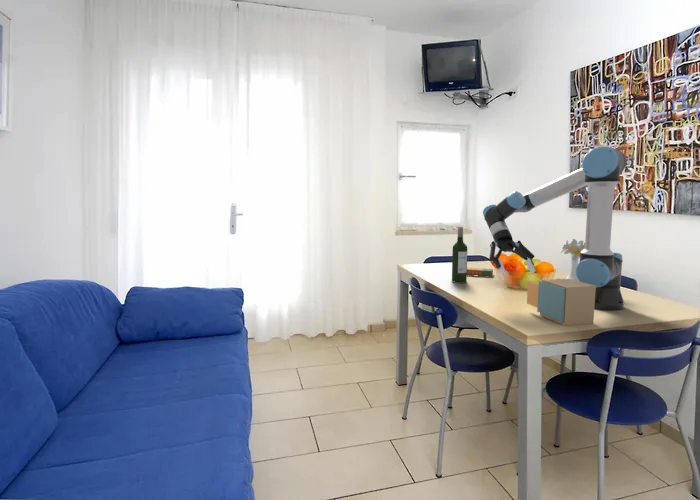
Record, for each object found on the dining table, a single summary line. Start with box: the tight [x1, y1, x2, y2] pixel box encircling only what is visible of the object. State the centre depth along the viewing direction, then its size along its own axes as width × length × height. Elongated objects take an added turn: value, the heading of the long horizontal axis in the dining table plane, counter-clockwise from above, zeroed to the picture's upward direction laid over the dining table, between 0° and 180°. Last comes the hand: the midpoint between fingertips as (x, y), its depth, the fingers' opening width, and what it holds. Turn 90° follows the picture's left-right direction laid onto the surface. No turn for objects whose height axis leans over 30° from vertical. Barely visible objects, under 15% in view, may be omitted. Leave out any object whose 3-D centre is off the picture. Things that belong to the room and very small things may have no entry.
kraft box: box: [539, 278, 596, 326], centre depth 160 cm, size 12×14×14 cm
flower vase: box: [560, 238, 585, 281], centre depth 208 cm, size 13×18×25 cm
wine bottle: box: [451, 226, 468, 283], centre depth 231 cm, size 8×8×30 cm
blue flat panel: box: [526, 280, 565, 322], centre depth 162 cm, size 1×21×12 cm, turn 11°
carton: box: [467, 267, 494, 278], centre depth 251 cm, size 8×16×4 cm, turn 68°
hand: (518, 273), depth 177 cm, fingers open, 13 cm apart
